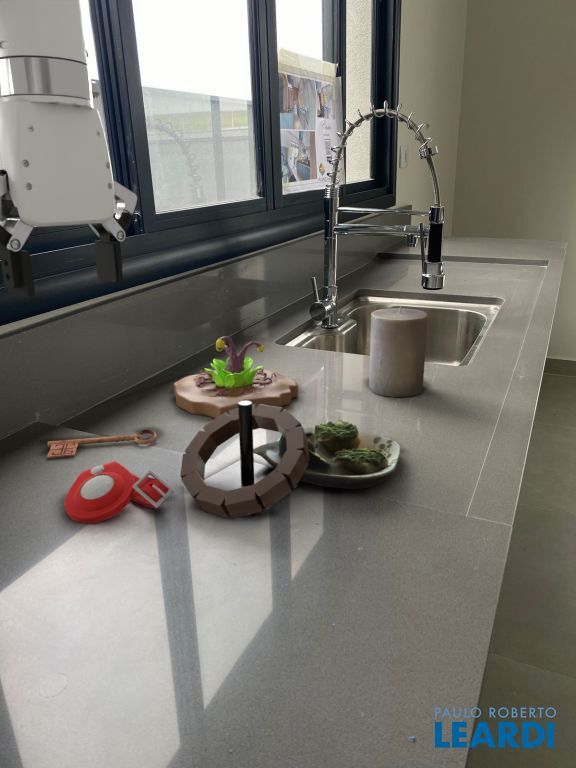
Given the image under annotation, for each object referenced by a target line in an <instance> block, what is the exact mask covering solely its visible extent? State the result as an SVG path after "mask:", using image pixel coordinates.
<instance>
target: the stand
mask: <svg viewBox="0 0 576 768" xmlns="http://www.w3.org/2000/svg"><path fill="white" fill-rule="evenodd" d="M238 414H239V433H238V436H239V437H238V439H239V460H236V462H233V463H232V464H229V465H228V466H227V467H225V468H223V469H220V470H219V471H218V472H216V473H214V474H212V475H210V476H208V477H207V478H204V482H205V483H206V485H208V486H212V487H215V488H219V489H223V490H227V491H229V490H233V489H238V488H242V487H246V486H251V485H254V484H255V483H257V482H258V481H260V480H261V479H263V478H264V477H266V476H267V475H268V474H270V473H271V472H273V471H274V469H273V467H272V466H268V465H265V464H262V463H259V462H255V459H254V458H255V457H254V455H255V454H254V453H253V449H254V430H253V421H252V402H250V401H240V402H239V403H238ZM298 486H300V481H299V482H298V484H297V486H296V488H297V487H298ZM290 488H291V490H292V491H293V490H294V489H295V488H292V487H290ZM264 510H266V509H265V507H264V506H263V505H262V511H264ZM259 513H260V512H258V513H254V514H249V516H252V517H255V516H257V515H258V514H259Z"/></svg>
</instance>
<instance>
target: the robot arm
mask: <svg viewBox="0 0 576 768" xmlns="http://www.w3.org/2000/svg"><path fill="white" fill-rule="evenodd" d="M88 50H89V49H88V41H87V29H86V17H85V8H84V0H0V265H1V271H2V278H3V279H2V280H3V283H4V286H5V287H6V288H7V292H8V294H9V295H10V296H15V297H19V298H26V299H29V298H33V297H34V296H35V295H36V290H35V283H34V282H35V281H34V274H33V268H32V267H33V266H32V261H31V260H32V259H31V254H30V252H29V250H24V249H23V247H24V245H25V243H26V241H27V240H28V238H29V236H30V234H31V233H32V231H33V230H34V228H35V227H42V228H43V227H59V226H75V225H77V226H78V225H88V226H89V228H90V229H91V230H92V231H93V232H94V233H95V235H96V236H97V237H98V238H99V240H94V244H93V246H94V255H95V267H96V277H97V280H98V281H99V282H104V283H110V284H121V283H123V281H124V275H123V258H122V249H121V243H122V242H123V241H125V239H126V233H127V231H128V229H129V227H130V226H131V225H132V223H133V214H134V212H135V209H136V207H137V206H136V205H137V201H138V196H137V194H136V193H134V192H133V191H132V190H130V189H128V188H127V187H125V186H124V185H122V184H120V183H119V182H118V181H115V180H114V178H113V171H112V164H111V158H110V152H109V147H108V143H107V138H106V134H105V129H104V125H103V123H102V118H101V116H100V112H99V110H98V109H97V108H94V102H93V98H94V99H97V98H98V97H99V96H100V93H101V89H100V86H99V83H98V82H96V81H92V80H91V71H90V62H89V51H88ZM115 209H116V210H115Z"/></svg>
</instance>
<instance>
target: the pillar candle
mask: <svg viewBox="0 0 576 768" xmlns="http://www.w3.org/2000/svg"><path fill="white" fill-rule="evenodd" d="M427 332H428V313H426V312H425V311H422V310H420V309H414V308H404V307H403V308H402V306H401V305H400V306H399V307H390V308H381V309H377V310H374V311H372V312H371V313H370V348H369V351H370V352H369V374H368V375H369V380H368V381H369V382H368V385H369V389H370V390H371V391H372V392H373V393H374V394H377V395H380V396H384V397H390V398H391V397H393V398H405V397H414V396H417V395H420V394H421V393H423V391H424V388H425V387H424V375H425V363H426V362H425V361H426V349H427V335H428V334H427Z"/></svg>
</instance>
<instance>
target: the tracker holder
mask: <svg viewBox="0 0 576 768" xmlns="http://www.w3.org/2000/svg"><path fill="white" fill-rule="evenodd" d="M150 476H151V477H150ZM174 491H175V489H173V488H172V487H171V485H169V484H168V483H166V482H165V481H164V480H163V479H162V478H160V477H159V476H158V475H157V474H156V473H155V472H154V471H152V470H150V469H149V470H148V471H147V472H145V474H144V475H142V476H141V477H138V476H136V475H135V474H132V473H131V471H129V470H128V468H126V467H124V465H122V464H120V463H119V462H117V461H111V462H108V463H104V464H101V465H99V464H98V465H96V466H94V467H91V468H89V469H86V470H83V471H81V472H80V473H79V475H78V476H77V478H76V479H75V480H74V481H73V483H72V485H71V487H70V488H69V490H68V491H67V495H66V497H65V499H64V509H65V512H66V513H67V515H68V517H69V518H70V519H71V520H73V521H74V522H77V523H79V524H80V523H81V524H95V523H100V522H103V521H106V520H109V519H111V518H112V517H114V516H116V515H117V514H119V513H120V512H121V511H123V510H124V509H125V508H126V507H127V506H128V505H129V504H130V502H131V501H134V502H135V503H137V504H139V505H141V506H143V507H147V508H150V509H158V508H160V506H162V505H163V504H164V503H165V502H166V501H167V500H168V499H169V497H171V495H173V494H174Z"/></svg>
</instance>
